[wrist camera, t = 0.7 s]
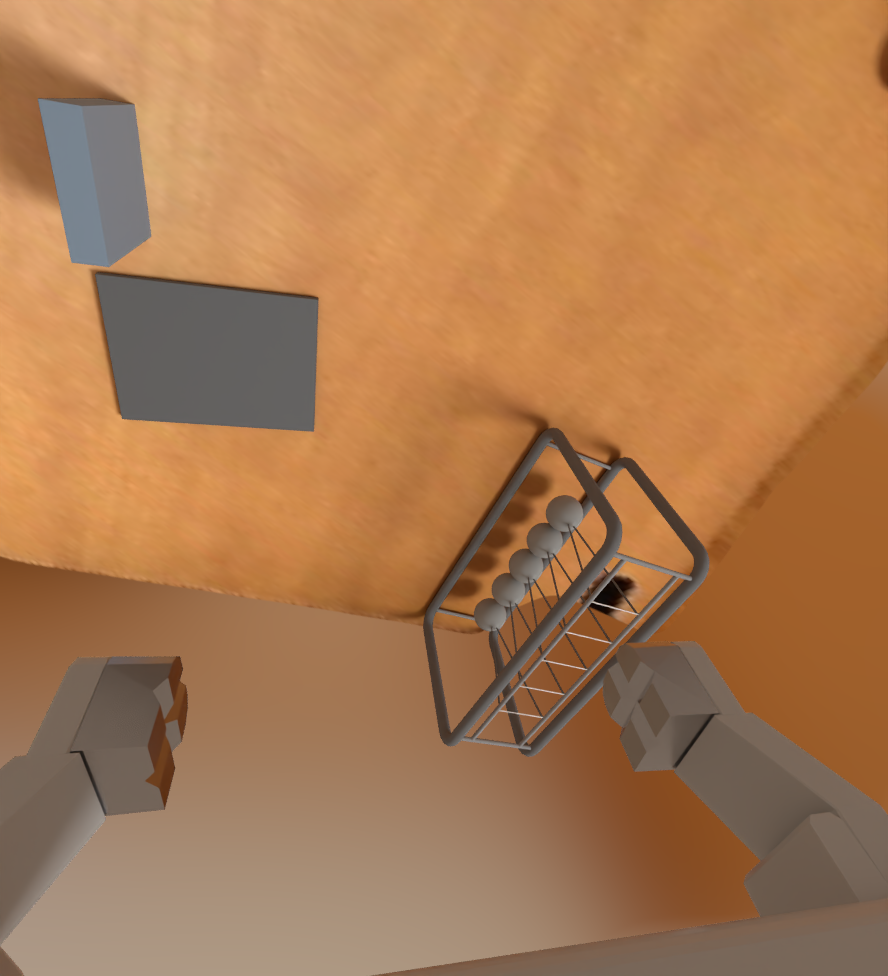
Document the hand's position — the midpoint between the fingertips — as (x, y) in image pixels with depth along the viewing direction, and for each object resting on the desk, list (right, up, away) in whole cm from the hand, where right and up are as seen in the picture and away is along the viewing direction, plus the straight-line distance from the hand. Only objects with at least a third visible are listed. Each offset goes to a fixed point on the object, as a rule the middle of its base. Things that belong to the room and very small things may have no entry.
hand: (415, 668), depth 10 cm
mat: (-18, +14, +36) cm, 43 cm away
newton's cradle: (+9, -3, +53) cm, 54 cm away
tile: (-21, +25, +27) cm, 43 cm away
